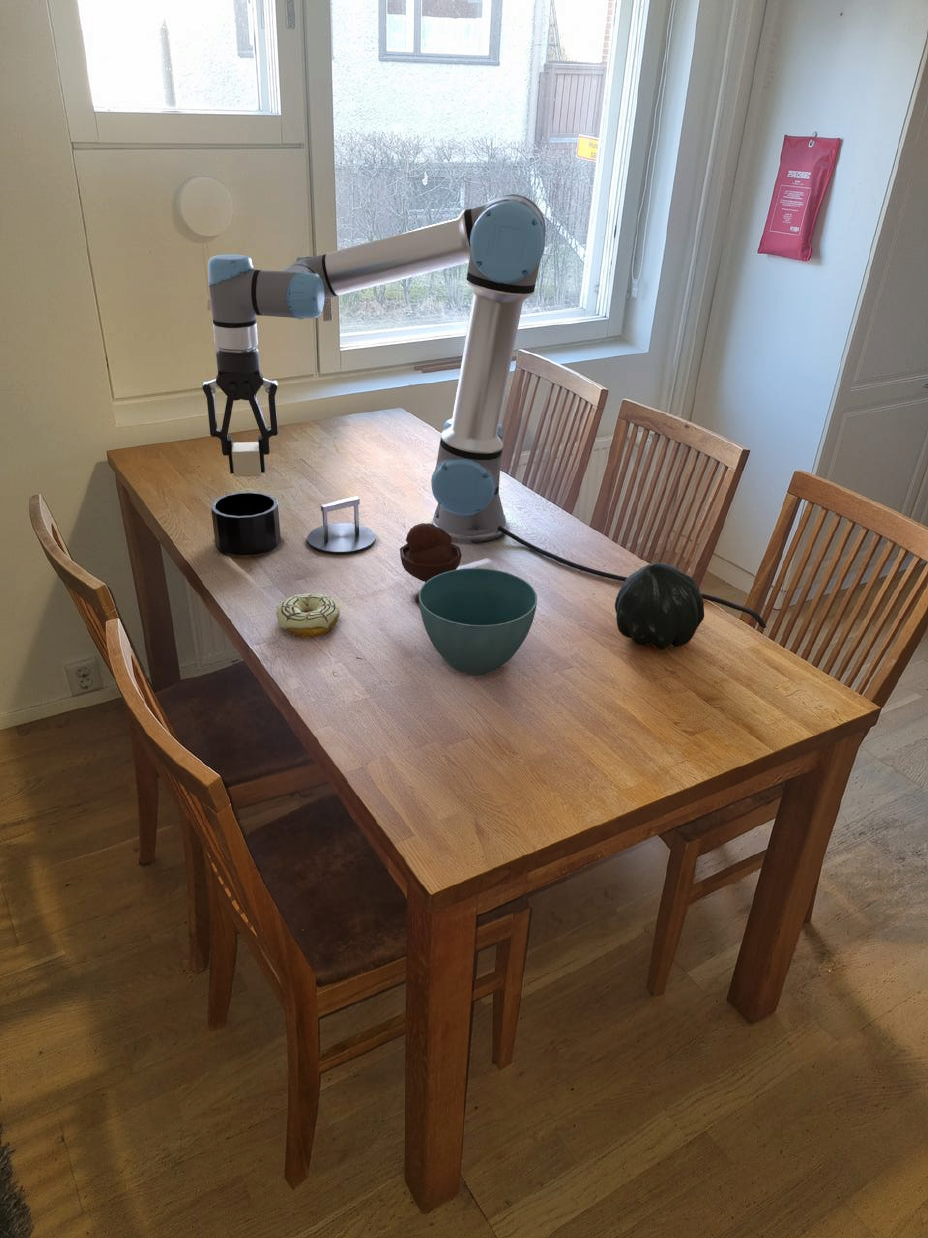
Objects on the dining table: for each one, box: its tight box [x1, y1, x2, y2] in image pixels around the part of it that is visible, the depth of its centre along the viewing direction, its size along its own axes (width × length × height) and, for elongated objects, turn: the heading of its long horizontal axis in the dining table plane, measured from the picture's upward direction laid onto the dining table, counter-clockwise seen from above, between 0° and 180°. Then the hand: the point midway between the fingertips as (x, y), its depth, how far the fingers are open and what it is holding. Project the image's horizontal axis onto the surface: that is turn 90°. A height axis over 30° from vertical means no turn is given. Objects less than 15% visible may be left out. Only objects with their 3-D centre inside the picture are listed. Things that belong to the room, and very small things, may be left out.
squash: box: [614, 562, 705, 651], centre depth 150 cm, size 14×15×15 cm
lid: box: [307, 496, 377, 556], centre depth 179 cm, size 14×14×9 cm
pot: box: [210, 491, 282, 557], centre depth 177 cm, size 13×13×8 cm
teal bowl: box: [418, 567, 538, 676], centre depth 142 cm, size 18×18×12 cm
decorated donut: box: [275, 592, 340, 639], centre depth 153 cm, size 10×11×4 cm
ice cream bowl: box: [399, 522, 462, 605], centre depth 159 cm, size 11×11×15 cm
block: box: [232, 441, 262, 478], centre depth 172 cm, size 5×5×5 cm
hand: (247, 470), depth 174 cm, fingers closed on block, 5 cm apart
